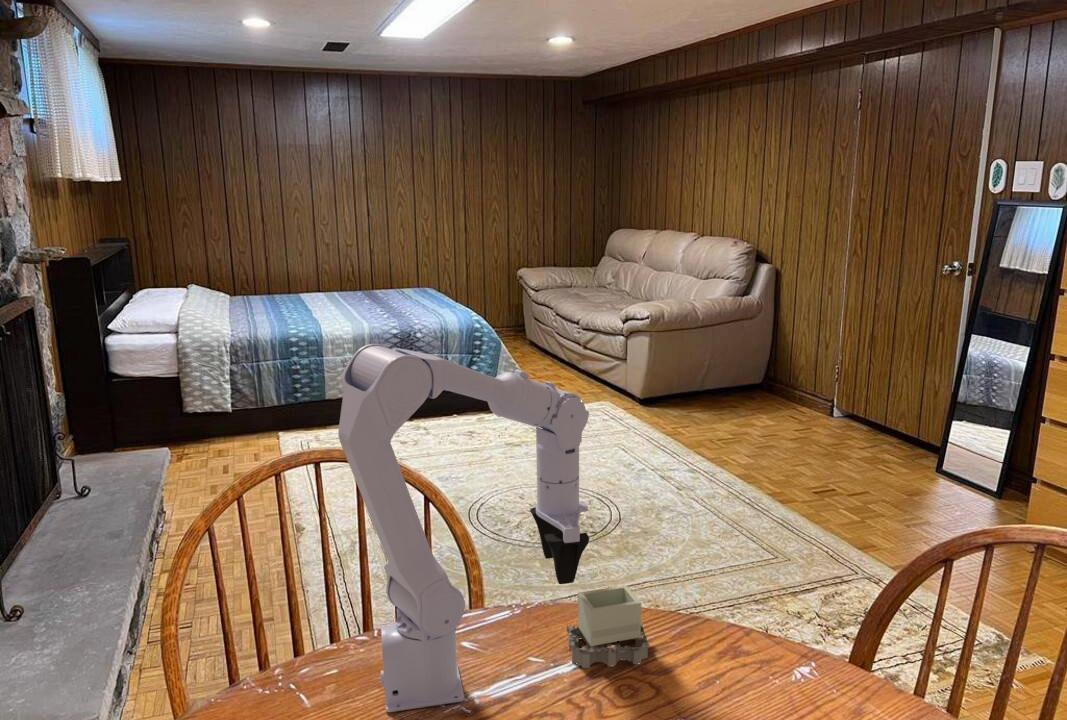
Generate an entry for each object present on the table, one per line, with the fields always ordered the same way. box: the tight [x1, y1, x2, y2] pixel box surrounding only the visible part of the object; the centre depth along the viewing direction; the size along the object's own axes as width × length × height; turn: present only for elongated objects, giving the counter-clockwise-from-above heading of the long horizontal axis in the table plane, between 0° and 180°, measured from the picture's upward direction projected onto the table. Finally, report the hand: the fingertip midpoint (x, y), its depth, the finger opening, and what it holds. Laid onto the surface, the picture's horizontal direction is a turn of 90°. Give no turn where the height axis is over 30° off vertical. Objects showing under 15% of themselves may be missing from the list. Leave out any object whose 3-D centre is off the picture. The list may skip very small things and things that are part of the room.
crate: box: [577, 584, 642, 646], centre depth 106 cm, size 7×5×5 cm
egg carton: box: [566, 621, 650, 669], centre depth 107 cm, size 11×8×4 cm
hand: (558, 569), depth 109 cm, fingers open, 7 cm apart
